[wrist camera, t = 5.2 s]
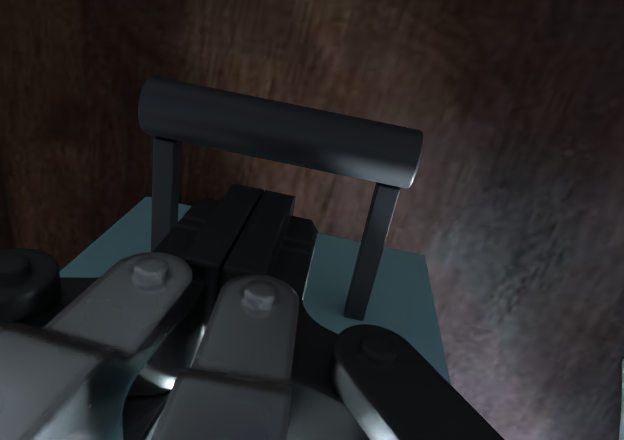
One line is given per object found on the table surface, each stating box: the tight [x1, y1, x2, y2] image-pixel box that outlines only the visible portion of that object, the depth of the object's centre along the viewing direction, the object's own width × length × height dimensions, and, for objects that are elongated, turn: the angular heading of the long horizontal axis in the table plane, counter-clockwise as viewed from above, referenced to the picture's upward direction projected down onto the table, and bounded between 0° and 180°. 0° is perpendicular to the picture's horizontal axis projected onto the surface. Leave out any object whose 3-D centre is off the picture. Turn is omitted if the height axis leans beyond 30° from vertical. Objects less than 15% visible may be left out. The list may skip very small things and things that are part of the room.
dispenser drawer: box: [59, 76, 451, 385], centre depth 16 cm, size 16×11×7 cm
